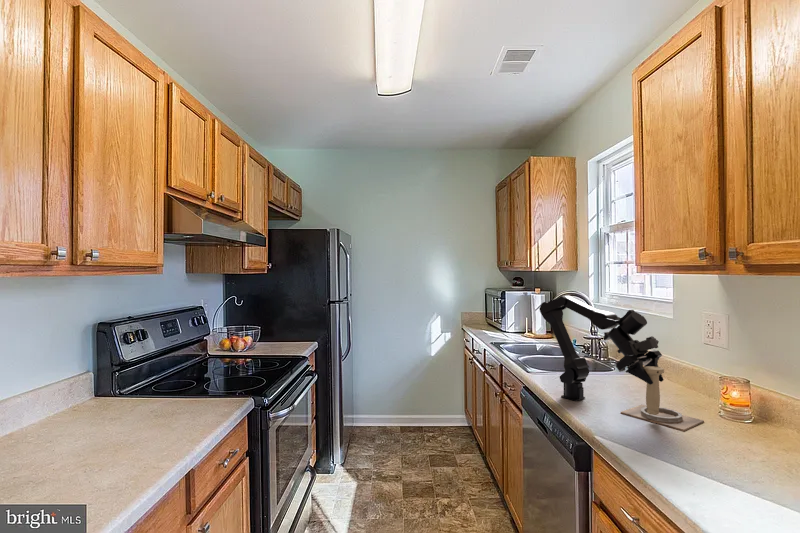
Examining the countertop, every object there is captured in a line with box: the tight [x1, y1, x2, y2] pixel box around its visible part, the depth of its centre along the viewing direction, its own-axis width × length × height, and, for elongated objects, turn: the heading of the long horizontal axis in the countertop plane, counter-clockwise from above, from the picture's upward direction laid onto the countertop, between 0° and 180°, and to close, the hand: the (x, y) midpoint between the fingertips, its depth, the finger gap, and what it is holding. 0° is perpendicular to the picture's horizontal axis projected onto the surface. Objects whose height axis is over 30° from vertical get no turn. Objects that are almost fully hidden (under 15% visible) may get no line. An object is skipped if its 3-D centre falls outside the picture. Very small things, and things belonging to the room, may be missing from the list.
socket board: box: [620, 404, 705, 432], centre depth 147 cm, size 20×14×2 cm
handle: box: [643, 366, 665, 415], centre depth 143 cm, size 5×6×15 cm
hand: (657, 382), depth 142 cm, fingers closed on handle, 6 cm apart
